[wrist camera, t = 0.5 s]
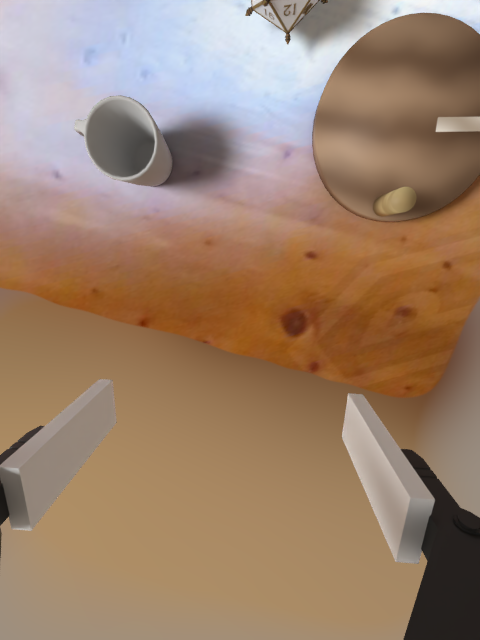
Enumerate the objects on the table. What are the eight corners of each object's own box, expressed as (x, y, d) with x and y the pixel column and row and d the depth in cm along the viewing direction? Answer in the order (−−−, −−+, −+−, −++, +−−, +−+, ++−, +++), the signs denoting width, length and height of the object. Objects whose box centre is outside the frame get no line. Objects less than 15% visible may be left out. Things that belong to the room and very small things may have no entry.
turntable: (319, 29, 32) (335, -29, 25) (510, 24, 31) (581, -38, 24) (306, 221, 37) (317, 215, 30) (469, 222, 36) (519, 217, 29)
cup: (171, 203, 38) (146, 191, 30) (98, 176, 38) (54, 156, 29) (188, 141, 36) (167, 111, 28) (111, 112, 36) (67, 72, 27)
